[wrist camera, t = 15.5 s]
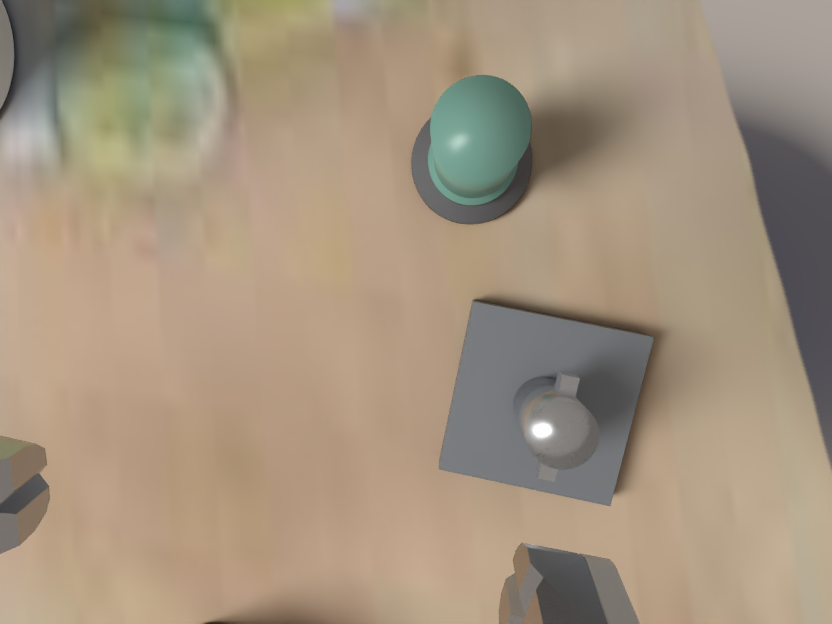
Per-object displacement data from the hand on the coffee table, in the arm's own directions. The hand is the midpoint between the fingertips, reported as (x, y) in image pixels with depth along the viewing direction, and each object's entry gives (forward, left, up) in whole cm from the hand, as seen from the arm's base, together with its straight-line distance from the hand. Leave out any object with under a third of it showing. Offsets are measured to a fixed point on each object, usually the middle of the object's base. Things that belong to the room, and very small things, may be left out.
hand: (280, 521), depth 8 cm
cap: (+2, +12, -25) cm, 27 cm away
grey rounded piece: (+10, -3, -24) cm, 26 cm away
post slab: (+10, -3, -25) cm, 27 cm away
